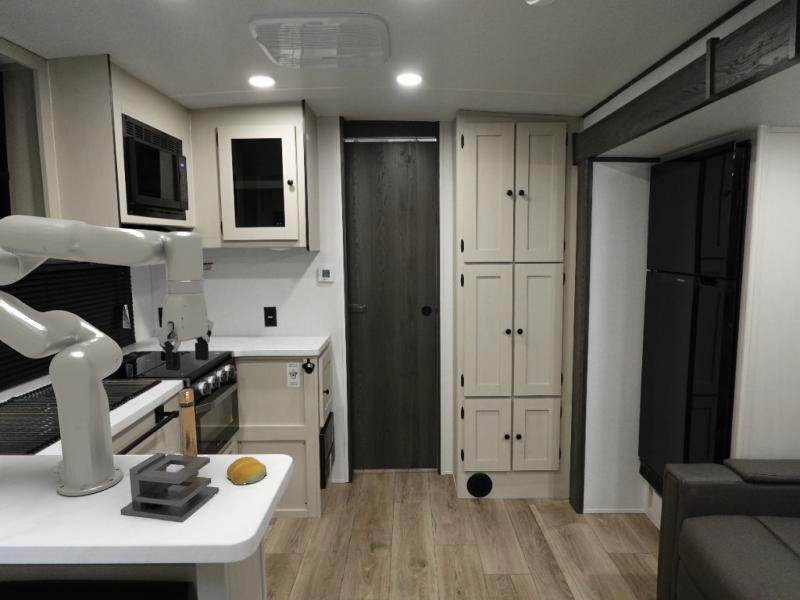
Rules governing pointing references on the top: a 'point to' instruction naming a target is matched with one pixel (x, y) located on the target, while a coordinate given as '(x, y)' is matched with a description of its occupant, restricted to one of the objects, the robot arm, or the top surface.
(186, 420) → the brown rod
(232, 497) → the top surface
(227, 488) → the top surface
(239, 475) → the bread roll
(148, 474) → the collar stand
